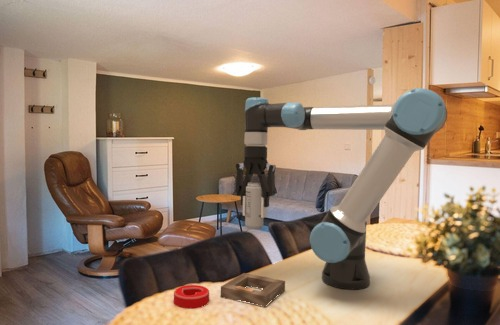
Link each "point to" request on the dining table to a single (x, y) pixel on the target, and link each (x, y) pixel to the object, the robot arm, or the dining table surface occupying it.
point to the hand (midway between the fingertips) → (254, 215)
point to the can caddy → (263, 297)
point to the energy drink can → (253, 206)
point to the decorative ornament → (191, 296)
